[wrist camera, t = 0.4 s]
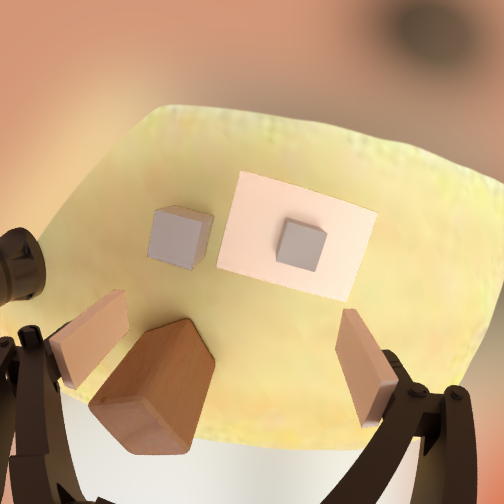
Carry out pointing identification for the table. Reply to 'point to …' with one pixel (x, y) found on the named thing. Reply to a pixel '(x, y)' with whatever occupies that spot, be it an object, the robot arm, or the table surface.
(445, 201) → the table surface
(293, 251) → the grey cube
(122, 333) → the robot arm
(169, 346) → the wooden block
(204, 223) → the slate cube
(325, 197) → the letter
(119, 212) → the table surface
